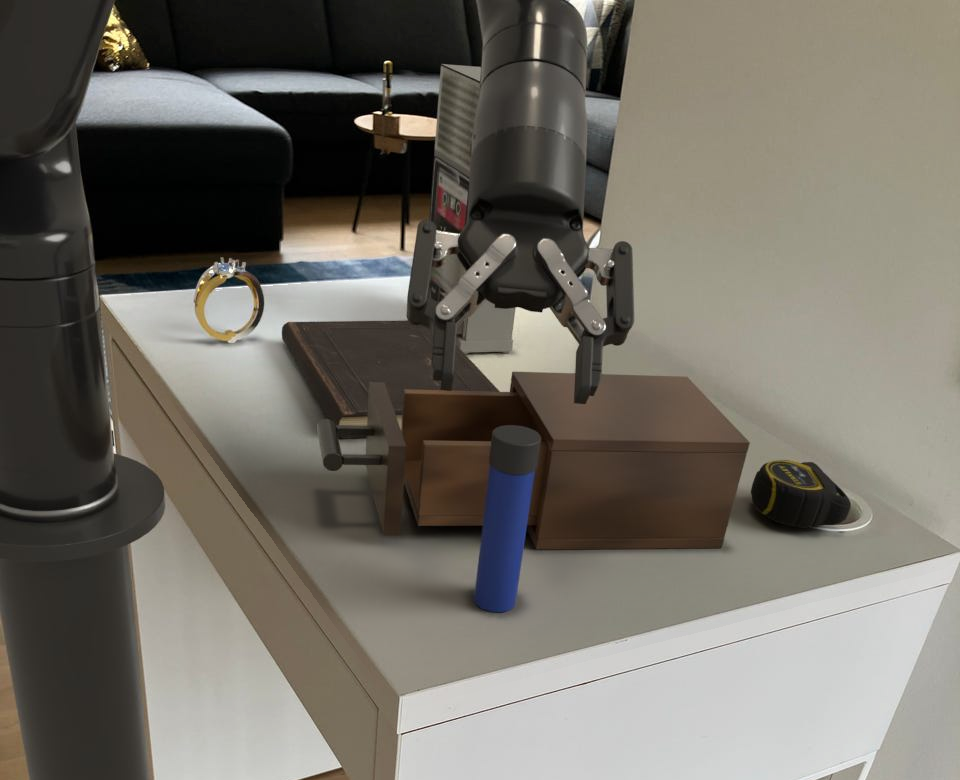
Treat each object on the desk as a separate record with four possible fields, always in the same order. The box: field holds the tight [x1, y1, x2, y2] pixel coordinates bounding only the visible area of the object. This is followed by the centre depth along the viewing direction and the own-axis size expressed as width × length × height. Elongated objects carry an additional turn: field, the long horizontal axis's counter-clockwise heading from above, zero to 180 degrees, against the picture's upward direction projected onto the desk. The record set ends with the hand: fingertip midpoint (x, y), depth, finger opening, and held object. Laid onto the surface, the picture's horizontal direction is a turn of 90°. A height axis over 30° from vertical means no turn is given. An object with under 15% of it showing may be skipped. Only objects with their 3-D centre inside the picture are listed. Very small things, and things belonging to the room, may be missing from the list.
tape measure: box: [750, 459, 852, 529], centre depth 86 cm, size 7×7×4 cm
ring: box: [193, 257, 265, 344], centre depth 104 cm, size 7×3×8 cm, turn 120°
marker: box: [473, 425, 541, 613], centre depth 68 cm, size 3×3×12 cm
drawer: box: [316, 382, 549, 536], centre depth 79 cm, size 18×12×7 cm, turn 101°
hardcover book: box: [281, 320, 501, 440], centre depth 100 cm, size 16×23×2 cm
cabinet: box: [509, 371, 751, 550], centre depth 82 cm, size 15×13×9 cm
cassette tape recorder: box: [428, 63, 517, 355], centre depth 109 cm, size 14×6×25 cm, turn 21°
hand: (515, 392), depth 66 cm, fingers open, 8 cm apart
